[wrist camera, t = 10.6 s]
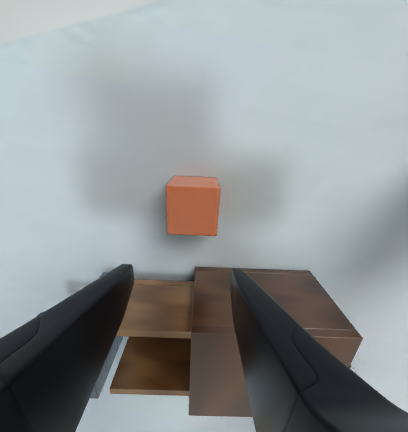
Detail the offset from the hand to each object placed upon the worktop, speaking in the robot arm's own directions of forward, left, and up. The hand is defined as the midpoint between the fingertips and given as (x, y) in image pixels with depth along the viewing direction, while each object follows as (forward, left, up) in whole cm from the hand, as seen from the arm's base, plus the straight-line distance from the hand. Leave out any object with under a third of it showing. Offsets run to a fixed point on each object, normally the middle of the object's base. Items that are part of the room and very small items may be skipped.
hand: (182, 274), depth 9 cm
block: (0, 0, -12) cm, 12 cm away
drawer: (-14, +6, -11) cm, 19 cm away
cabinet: (-14, -7, -12) cm, 20 cm away
